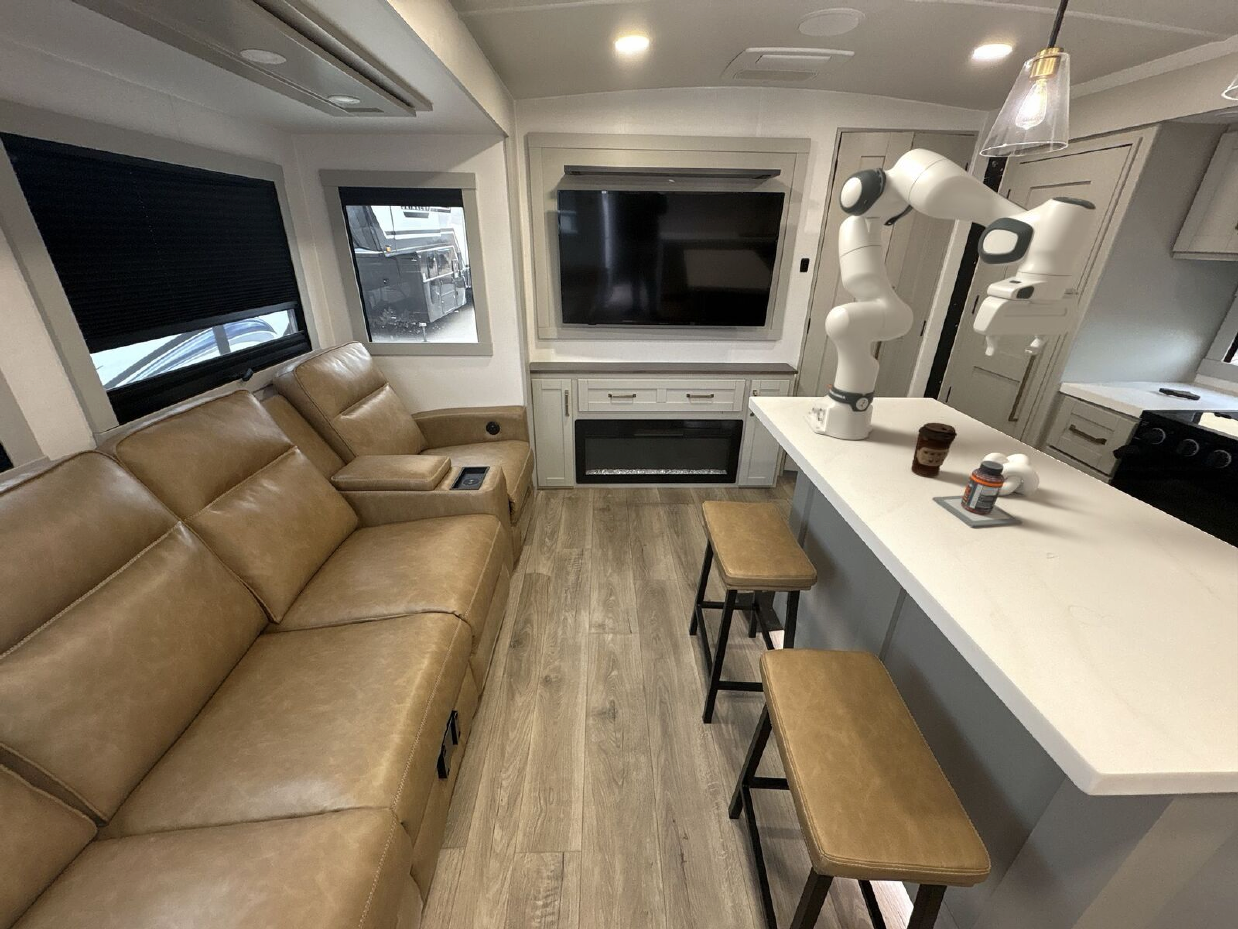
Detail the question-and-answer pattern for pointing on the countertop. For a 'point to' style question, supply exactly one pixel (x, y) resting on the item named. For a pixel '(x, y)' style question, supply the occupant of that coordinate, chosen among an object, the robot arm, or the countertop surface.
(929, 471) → the coffee cup
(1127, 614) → the countertop surface
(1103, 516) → the countertop surface
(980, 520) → the coaster
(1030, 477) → the white decorative knot
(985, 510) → the supplement bottle
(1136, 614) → the countertop surface
